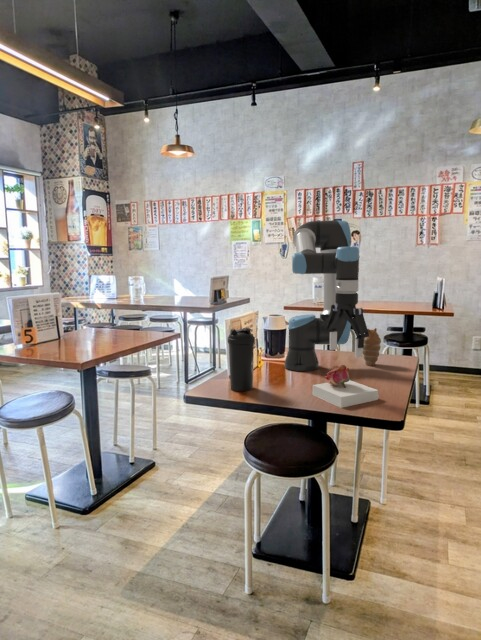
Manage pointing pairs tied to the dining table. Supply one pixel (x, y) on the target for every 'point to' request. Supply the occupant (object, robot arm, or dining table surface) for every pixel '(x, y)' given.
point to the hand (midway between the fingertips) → (345, 353)
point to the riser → (345, 393)
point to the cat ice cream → (371, 347)
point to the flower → (338, 375)
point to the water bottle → (241, 359)
